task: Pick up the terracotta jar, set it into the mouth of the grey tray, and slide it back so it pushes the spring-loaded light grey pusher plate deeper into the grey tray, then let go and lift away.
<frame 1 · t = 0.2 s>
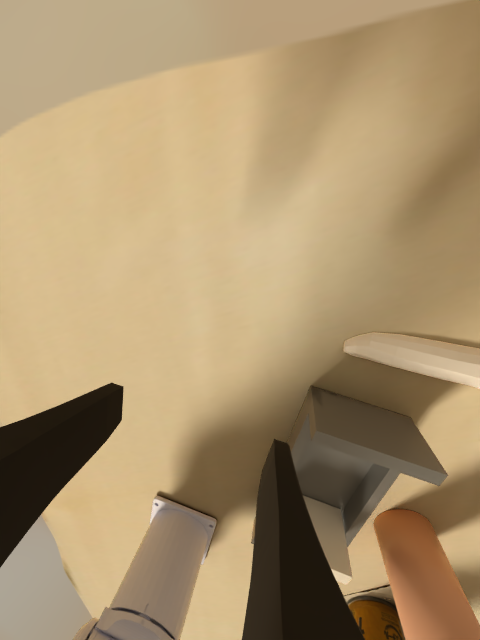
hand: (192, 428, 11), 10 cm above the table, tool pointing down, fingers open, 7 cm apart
condiment: (379, 607, 28), on the table
pusher: (311, 537, 21), point 4 cm above the table, slide at 0.0 cm
grey tray: (319, 477, 23), on the table
jar: (402, 527, 23), on the table
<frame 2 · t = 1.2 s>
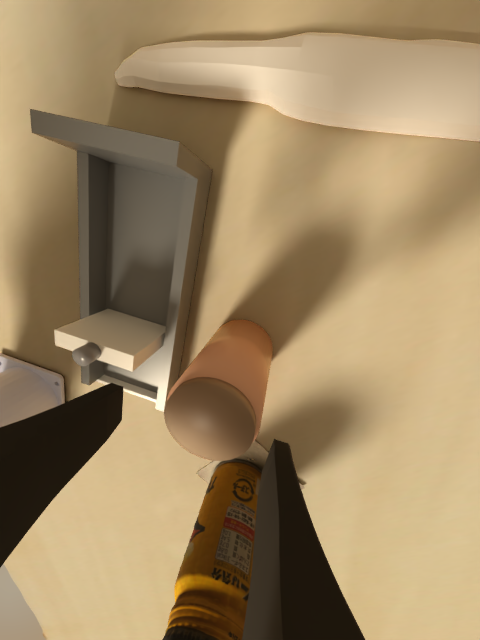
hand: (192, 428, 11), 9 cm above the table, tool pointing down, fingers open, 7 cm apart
condiment: (248, 475, 24), on the table
pusher: (114, 338, 17), point 4 cm above the table, slide at 0.0 cm
grey tray: (144, 289, 20), on the table
jar: (242, 348, 20), on the table
spatula: (345, 90, 14), on the table
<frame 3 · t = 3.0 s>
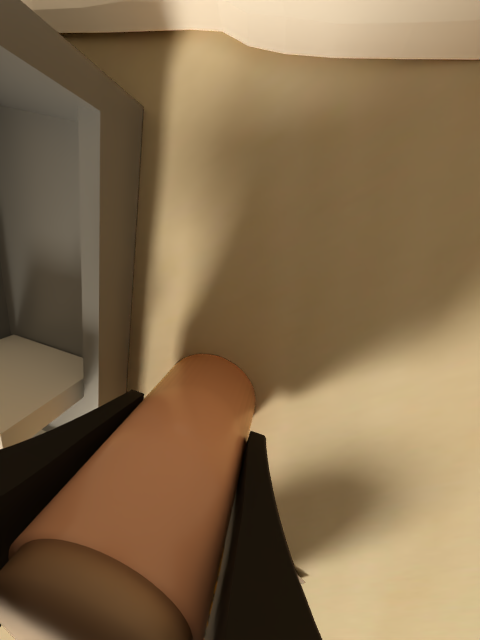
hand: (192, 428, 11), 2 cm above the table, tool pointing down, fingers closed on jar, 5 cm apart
grey tray: (63, 307, 13), on the table
jar: (209, 395, 13), on the table, touching gripper
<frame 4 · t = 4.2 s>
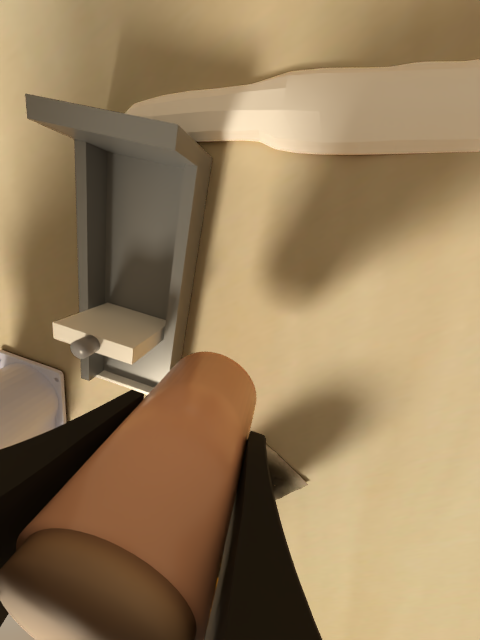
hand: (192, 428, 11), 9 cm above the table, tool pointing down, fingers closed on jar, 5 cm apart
condiment: (250, 472, 24), on the table
pusher: (113, 331, 17), point 4 cm above the table, slide at 0.0 cm
grey tray: (144, 283, 19), on the table
jar: (211, 392, 13), point 7 cm above the table, touching gripper
spatula: (332, 118, 14), on the table
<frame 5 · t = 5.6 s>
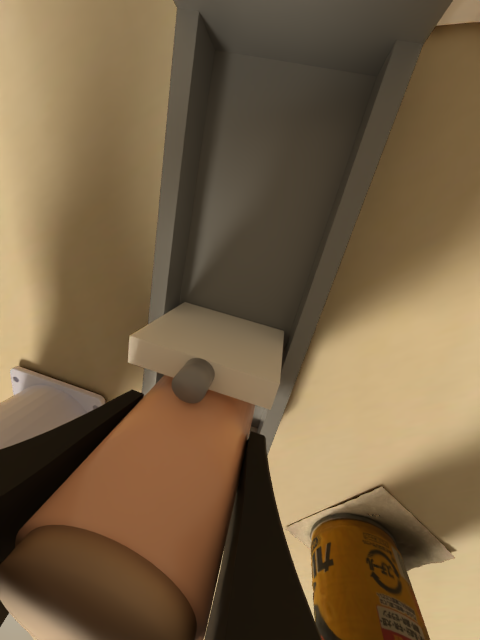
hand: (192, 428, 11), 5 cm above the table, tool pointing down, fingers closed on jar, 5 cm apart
condiment: (362, 534, 18), on the table
pusher: (215, 348, 11), point 4 cm above the table, slide at 0.0 cm
grey tray: (244, 272, 13), on the table
jar: (211, 391, 13), point 2 cm above the table, touching gripper
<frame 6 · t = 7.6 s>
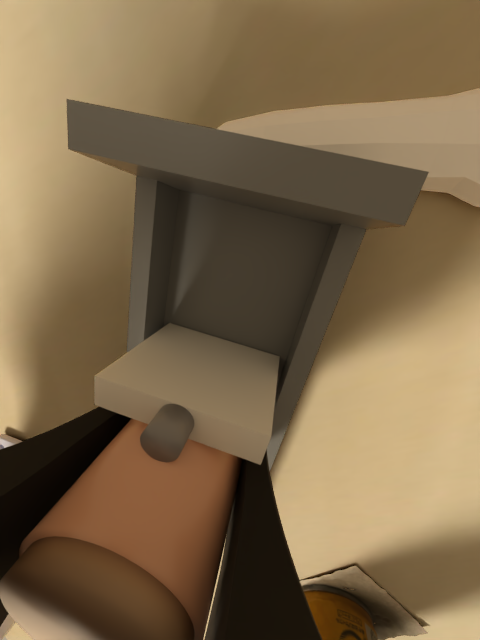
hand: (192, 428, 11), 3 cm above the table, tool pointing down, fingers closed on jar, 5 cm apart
condiment: (339, 602, 18), on the table
pusher: (199, 383, 9), point 4 cm above the table, slide at 4.8 cm, touching jar
grey tray: (217, 373, 13), on the table
jar: (210, 397, 13), resting on grey tray, touching gripper, pusher
when the fingers open (3 cm above the table, at t = 8.6 s): jar stays where it is, resting on grey tray, pusher.
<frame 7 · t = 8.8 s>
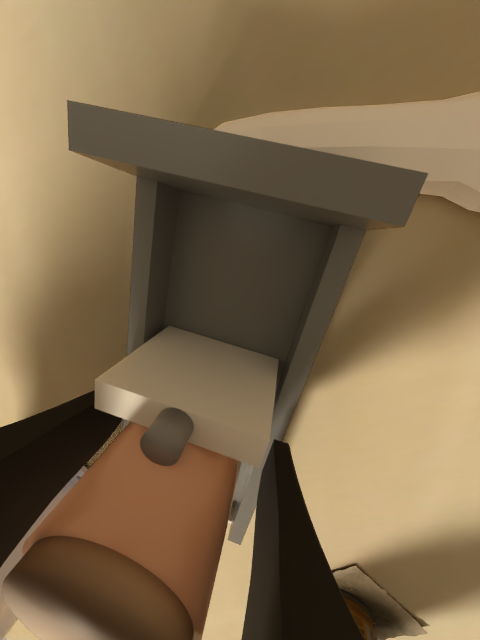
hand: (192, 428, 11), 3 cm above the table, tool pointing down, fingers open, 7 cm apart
condiment: (339, 602, 18), on the table
pusher: (198, 386, 9), point 4 cm above the table, slide at 4.6 cm, touching jar
grey tray: (217, 373, 13), on the table
jar: (209, 398, 13), resting on grey tray, pusher
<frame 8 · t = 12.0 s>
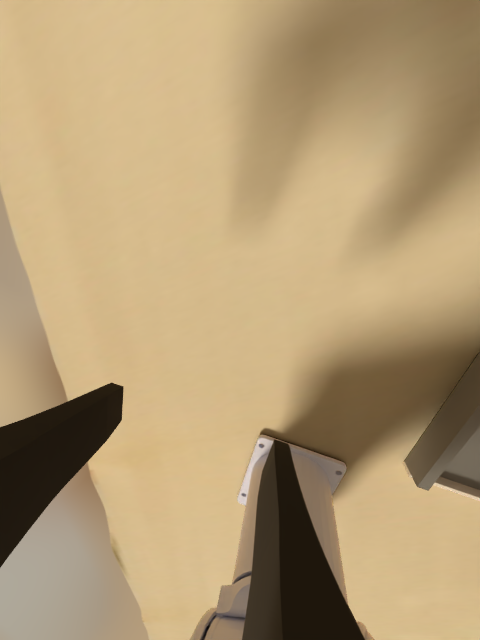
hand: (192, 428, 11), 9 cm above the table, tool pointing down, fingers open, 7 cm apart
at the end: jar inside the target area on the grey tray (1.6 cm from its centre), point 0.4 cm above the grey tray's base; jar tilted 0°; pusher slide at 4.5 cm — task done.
